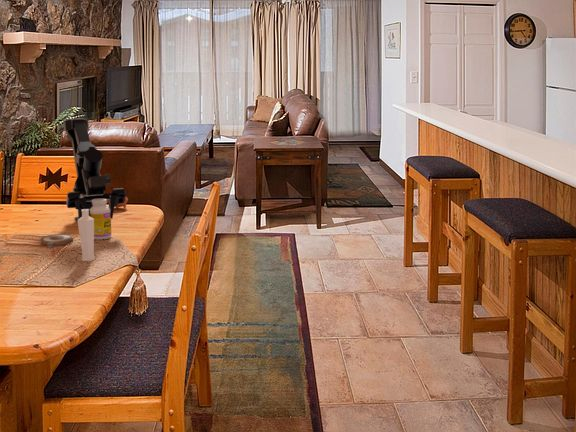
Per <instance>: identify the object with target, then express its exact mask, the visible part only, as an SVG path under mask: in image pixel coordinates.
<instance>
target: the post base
mask: <svg viewBox="0 0 576 432" xmlns="http://www.w3.org/2000/svg"><path fill="white" fill-rule="evenodd" d="M71 242H72V243H73V242H74V236H73V235H71V234H67V233H66V232H61V233H58V234H51V235H50V234H49V235H46V236H42V237H41V238H40V239H39V243H40V245H41V246H45V247H47V248H49V249H50V248H53V247H59V246H66V245H69V243H70V244H72V243H71Z"/></svg>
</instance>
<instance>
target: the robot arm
mask: <svg viewBox="0 0 576 432" xmlns="http://www.w3.org/2000/svg"><path fill="white" fill-rule="evenodd" d="M62 123H63V124H62V125H63V132H65V134H66V138H67V139H68V140H69V141H70V143H71V145H72V153H73V159H74V165H75V173H76V179H75V181H74V185H73V188H72V191H69V192H67V194H66V199H65V200H66V202H65V203H66V207H67V208H68V209H72V208H74V209H75V210H77V216H76V217H75V216H74V219H75V220H77V221H78V219H79V218H81V217H82V211H81V210H82V209H89V210H90V208H91V207H93V205H92V200H93V199H98V198H104V199H107V201H108V200H109V203H108V207H109V208H110V214H111V220H113V218H114V211H115V208H116V207H115V206H117V205H118V204H122V203H124V202H125V197H127V191H126V189H124V188H123V187H120V188H119V187H117V188H112V192H111V193H105V192H106V191H107V190H106V186H107V185H111V183H112V180H111V175H110V173H106V174H103V175H101V172H100V170H101V168H102V164H103V160H104V155H103V153H102V151H100V150H99V149H97V146H96V145H94V144H93V143H92V142H91V138H90V136H89V130H90V126H89V119H86V118H83V117H78V118H77V117H76V118H66V120H64V121H63V122H62ZM89 216H90V213H89Z"/></svg>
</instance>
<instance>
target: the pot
mask: <svg viewBox="0 0 576 432" xmlns="http://www.w3.org/2000/svg"><path fill="white" fill-rule="evenodd" d="M128 201H129V199H128V197H127V196H126V197H125V202H124V203H122V204H118V205H117V206H115V207H114V208H121V207H123V210H126V207H127V203H128ZM107 203H108V204H109V200H107Z"/></svg>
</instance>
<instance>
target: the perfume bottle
mask: <svg viewBox="0 0 576 432" xmlns="http://www.w3.org/2000/svg"><path fill="white" fill-rule="evenodd" d="M81 211H82V217H81V218H79V219H78V220H77V225H78V226H77V227H78V233H79V239H80V241H79V242H80V248H81V256H82V257H81V261H82V262H83V261H84V262H91V261H95V260H96V257H95V252H94V251H95V239H94V219H93V218H91V217H90V216H89V209H82V210H81Z"/></svg>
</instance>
